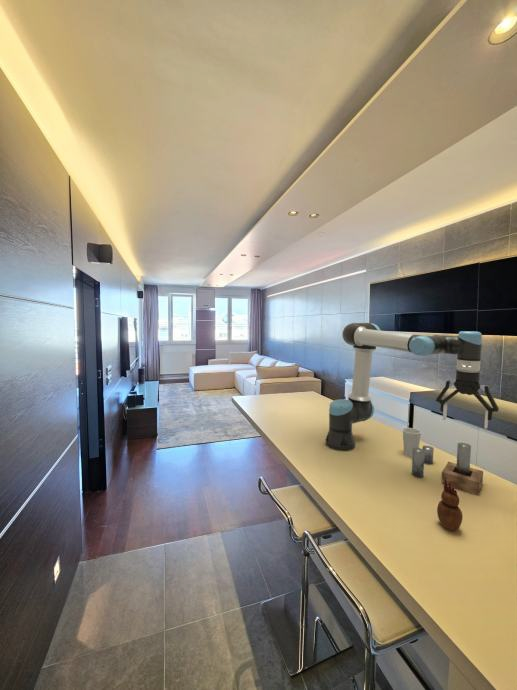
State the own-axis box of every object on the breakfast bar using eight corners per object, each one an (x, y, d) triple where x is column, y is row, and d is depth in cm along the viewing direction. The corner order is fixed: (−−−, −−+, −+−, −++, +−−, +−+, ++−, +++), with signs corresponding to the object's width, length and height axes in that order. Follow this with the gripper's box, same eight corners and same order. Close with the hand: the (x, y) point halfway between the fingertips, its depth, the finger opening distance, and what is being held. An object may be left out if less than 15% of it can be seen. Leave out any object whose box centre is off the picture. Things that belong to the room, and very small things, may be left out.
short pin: (420, 462, 137) (421, 447, 136) (423, 459, 140) (424, 444, 139) (431, 465, 134) (432, 450, 133) (434, 462, 137) (434, 447, 136)
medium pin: (410, 475, 125) (411, 450, 124) (413, 471, 128) (414, 446, 128) (421, 478, 122) (422, 453, 121) (424, 474, 125) (425, 449, 125)
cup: (422, 458, 140) (423, 434, 139) (404, 457, 142) (405, 433, 141) (417, 451, 148) (417, 428, 147) (399, 450, 150) (400, 427, 149)
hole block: (441, 483, 118) (441, 471, 118) (447, 472, 127) (448, 461, 127) (478, 495, 110) (479, 482, 110) (482, 483, 119) (483, 471, 119)
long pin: (454, 483, 118) (456, 445, 117) (456, 479, 122) (458, 441, 121) (467, 487, 115) (470, 448, 114) (469, 483, 119) (471, 444, 118)
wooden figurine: (433, 519, 97) (435, 475, 96) (449, 518, 97) (451, 474, 96) (447, 534, 90) (450, 487, 89) (465, 533, 90) (468, 486, 89)
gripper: (429, 368, 121) (426, 418, 123) (508, 376, 104) (504, 434, 106) (434, 366, 127) (431, 414, 128) (510, 373, 110) (505, 429, 111)
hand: (464, 423), depth 117 cm, fingers open, 13 cm apart
